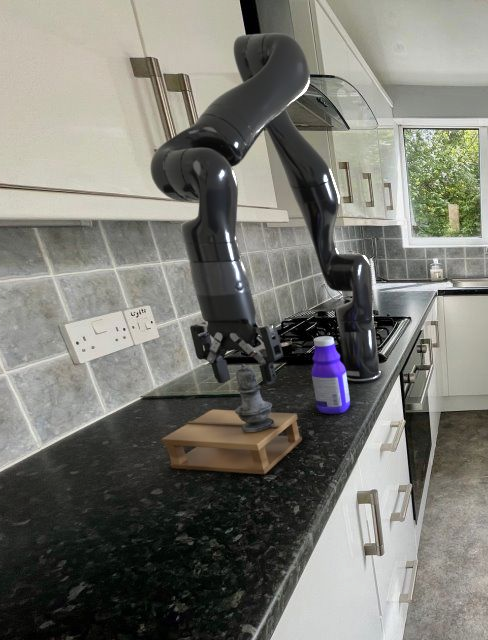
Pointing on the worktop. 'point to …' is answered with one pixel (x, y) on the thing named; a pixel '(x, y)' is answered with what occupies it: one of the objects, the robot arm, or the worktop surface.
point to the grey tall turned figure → (252, 402)
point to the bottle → (329, 378)
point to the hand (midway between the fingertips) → (246, 382)
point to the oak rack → (231, 443)
